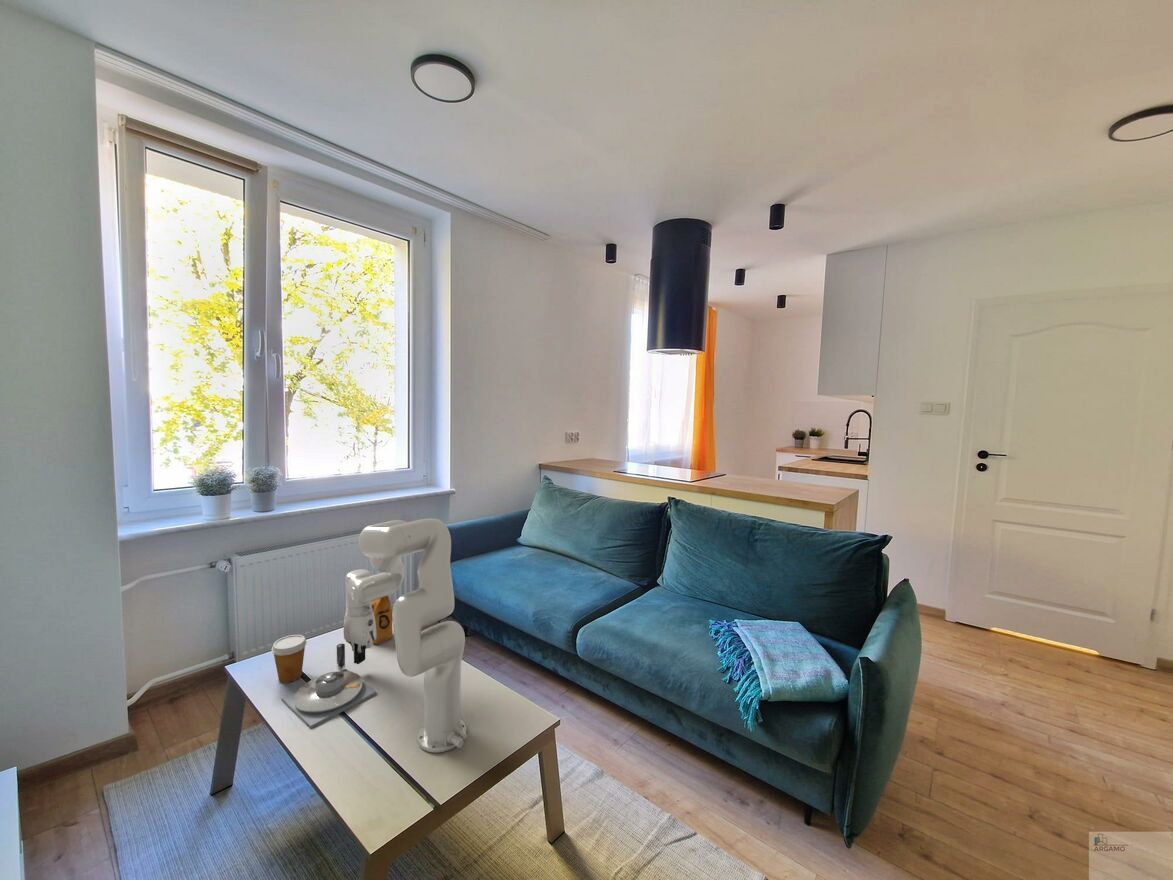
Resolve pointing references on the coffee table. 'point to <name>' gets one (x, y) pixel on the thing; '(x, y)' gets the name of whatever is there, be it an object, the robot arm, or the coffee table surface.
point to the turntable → (313, 704)
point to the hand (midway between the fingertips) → (359, 661)
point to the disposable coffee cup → (289, 657)
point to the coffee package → (382, 619)
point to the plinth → (318, 718)
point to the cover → (329, 684)
